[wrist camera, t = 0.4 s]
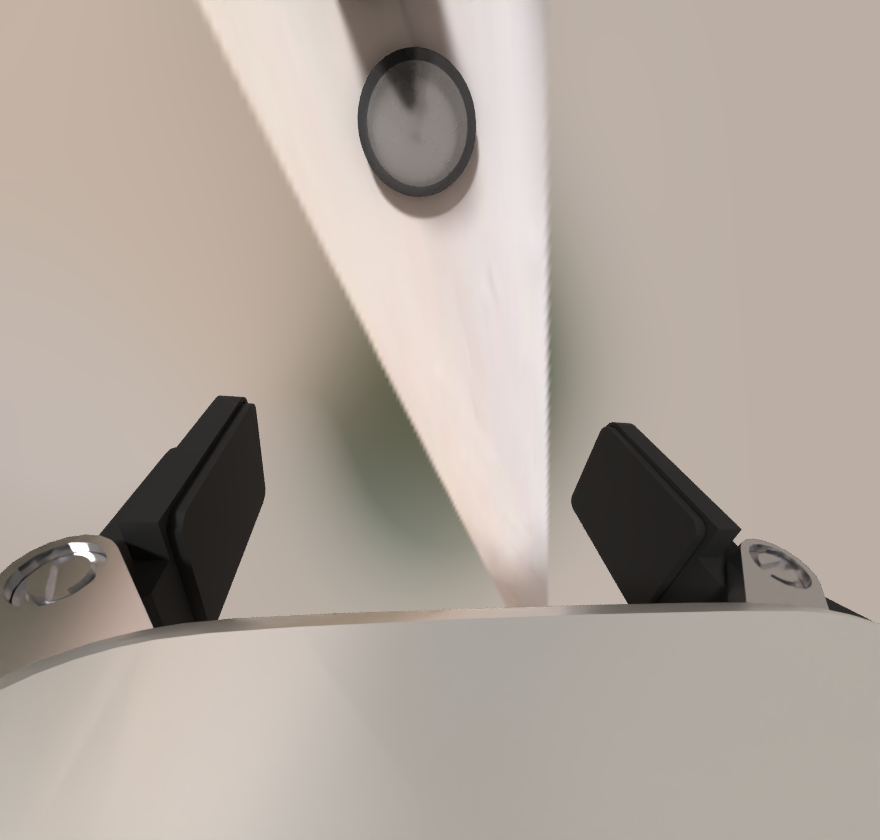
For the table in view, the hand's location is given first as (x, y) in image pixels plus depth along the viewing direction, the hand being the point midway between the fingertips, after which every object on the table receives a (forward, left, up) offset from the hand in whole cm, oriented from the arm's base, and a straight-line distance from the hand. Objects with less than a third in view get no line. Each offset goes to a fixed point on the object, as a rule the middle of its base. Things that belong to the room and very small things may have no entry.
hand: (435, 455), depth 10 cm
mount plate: (-10, 0, -29) cm, 31 cm away
